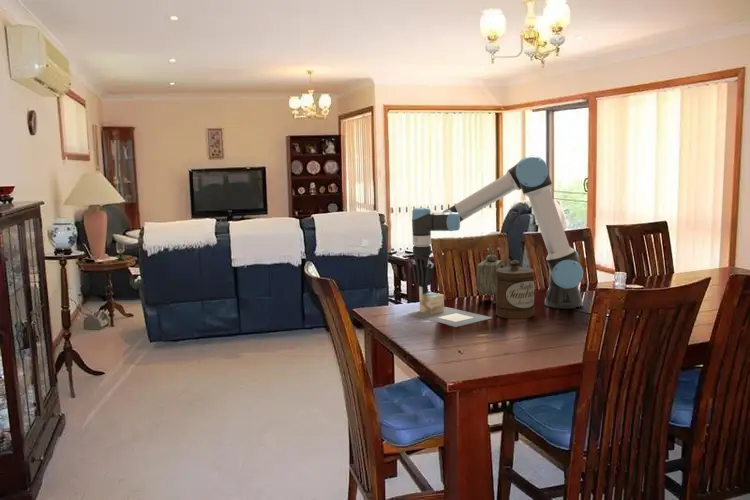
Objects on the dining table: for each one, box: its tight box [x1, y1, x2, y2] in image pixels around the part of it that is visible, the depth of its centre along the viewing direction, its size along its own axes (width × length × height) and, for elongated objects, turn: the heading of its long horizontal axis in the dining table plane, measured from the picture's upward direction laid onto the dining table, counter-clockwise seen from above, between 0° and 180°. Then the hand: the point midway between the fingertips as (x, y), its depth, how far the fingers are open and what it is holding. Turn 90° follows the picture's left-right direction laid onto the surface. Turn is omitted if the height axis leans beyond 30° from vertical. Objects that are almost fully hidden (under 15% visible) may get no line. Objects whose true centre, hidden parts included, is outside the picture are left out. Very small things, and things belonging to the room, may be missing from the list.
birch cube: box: [419, 292, 445, 314], centre depth 268 cm, size 7×7×7 cm
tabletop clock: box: [476, 243, 506, 304], centre depth 285 cm, size 14×9×25 cm, turn 154°
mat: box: [407, 306, 493, 328], centre depth 261 cm, size 29×20×1 cm
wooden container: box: [495, 259, 535, 320], centre depth 259 cm, size 15×15×22 cm
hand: (423, 301), depth 273 cm, fingers closed
